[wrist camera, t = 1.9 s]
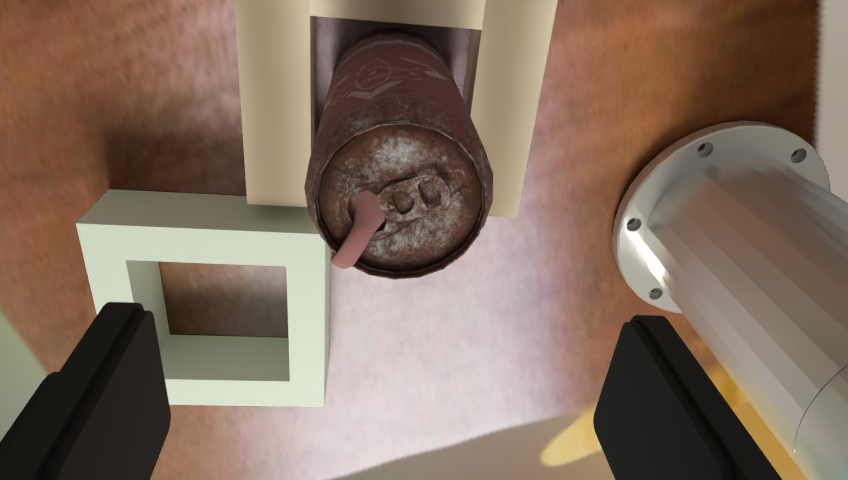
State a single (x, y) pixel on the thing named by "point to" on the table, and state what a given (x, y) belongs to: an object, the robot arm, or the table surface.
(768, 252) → the robot arm
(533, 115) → the socket block
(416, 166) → the can
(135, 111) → the table surface
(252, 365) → the pale green square frame
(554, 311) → the table surface
